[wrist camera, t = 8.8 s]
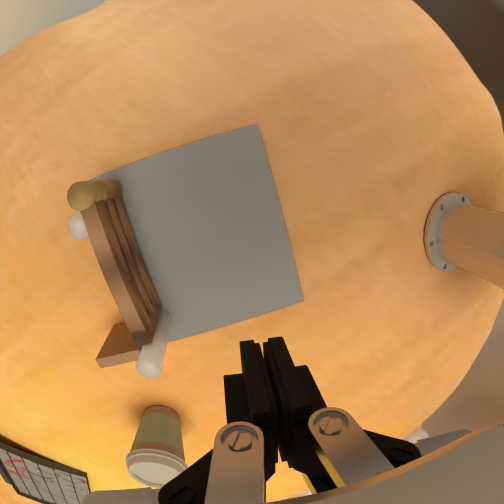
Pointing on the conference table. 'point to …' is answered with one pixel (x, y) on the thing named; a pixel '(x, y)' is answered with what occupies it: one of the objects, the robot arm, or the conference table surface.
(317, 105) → the conference table surface
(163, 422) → the coffee cup
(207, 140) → the grey board
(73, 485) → the shutter
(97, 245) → the gate
